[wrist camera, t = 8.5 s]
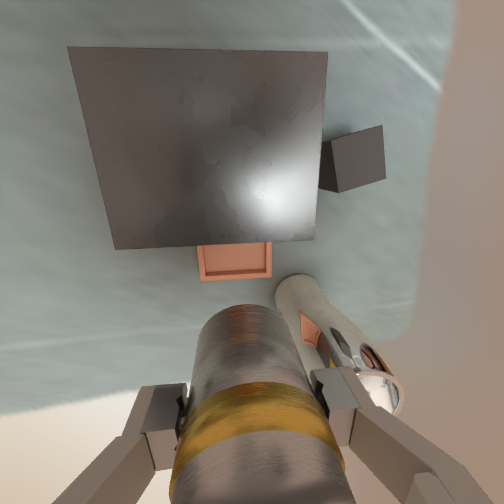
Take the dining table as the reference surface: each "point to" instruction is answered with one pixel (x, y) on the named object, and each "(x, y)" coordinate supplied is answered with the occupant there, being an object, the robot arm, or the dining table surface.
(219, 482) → the cylinder
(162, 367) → the dining table surface
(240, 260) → the tray
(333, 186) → the rubber block
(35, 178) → the dining table surface
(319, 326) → the beer glass
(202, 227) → the dark grey block
